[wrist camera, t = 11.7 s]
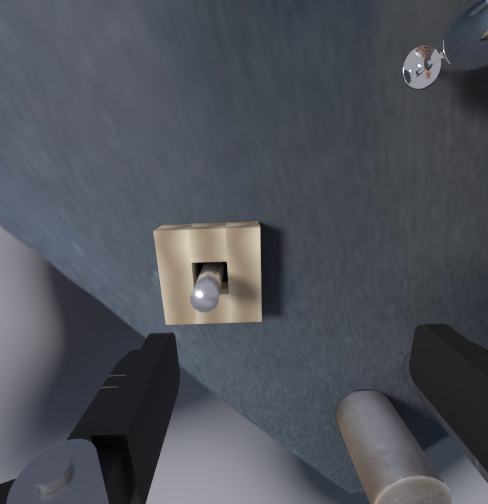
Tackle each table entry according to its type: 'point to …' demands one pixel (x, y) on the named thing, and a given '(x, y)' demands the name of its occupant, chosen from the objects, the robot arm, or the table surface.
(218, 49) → the table surface
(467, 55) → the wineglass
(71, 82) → the table surface
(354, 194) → the table surface
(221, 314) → the oak hole block
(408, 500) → the pillar candle
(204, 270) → the steel pin
